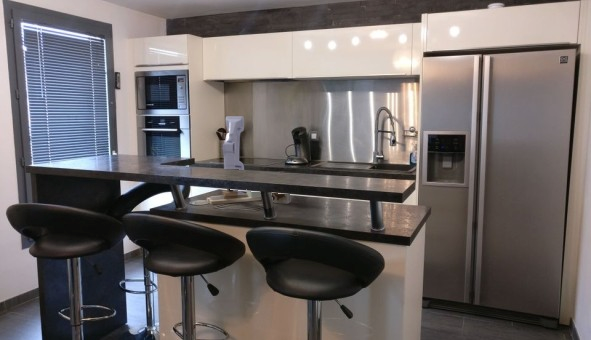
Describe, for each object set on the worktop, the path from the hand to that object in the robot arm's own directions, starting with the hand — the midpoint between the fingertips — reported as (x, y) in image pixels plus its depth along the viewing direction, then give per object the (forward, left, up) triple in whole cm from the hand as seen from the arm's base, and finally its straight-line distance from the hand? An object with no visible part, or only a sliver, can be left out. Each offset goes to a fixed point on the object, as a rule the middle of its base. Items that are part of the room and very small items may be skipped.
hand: (230, 190), depth 239 cm
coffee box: (+14, +24, -6) cm, 28 cm away
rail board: (0, +4, -6) cm, 7 cm away
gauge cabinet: (0, +14, -4) cm, 15 cm away
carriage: (0, 0, -4) cm, 4 cm away
